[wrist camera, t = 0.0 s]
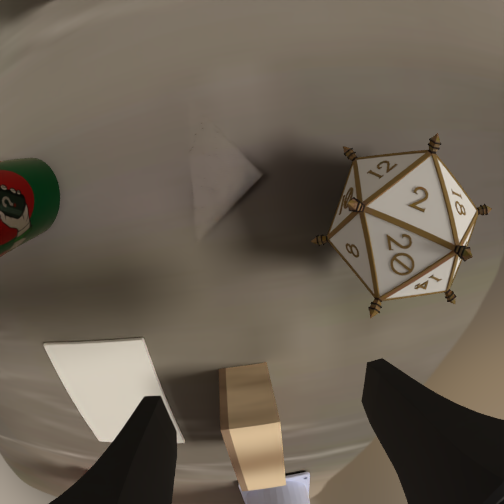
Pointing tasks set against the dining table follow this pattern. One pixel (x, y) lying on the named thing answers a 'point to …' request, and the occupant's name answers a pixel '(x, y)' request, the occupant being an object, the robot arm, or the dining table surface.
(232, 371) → the wooden block
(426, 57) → the dining table surface
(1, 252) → the soda can
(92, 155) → the dining table surface
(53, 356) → the pad
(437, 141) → the game die
